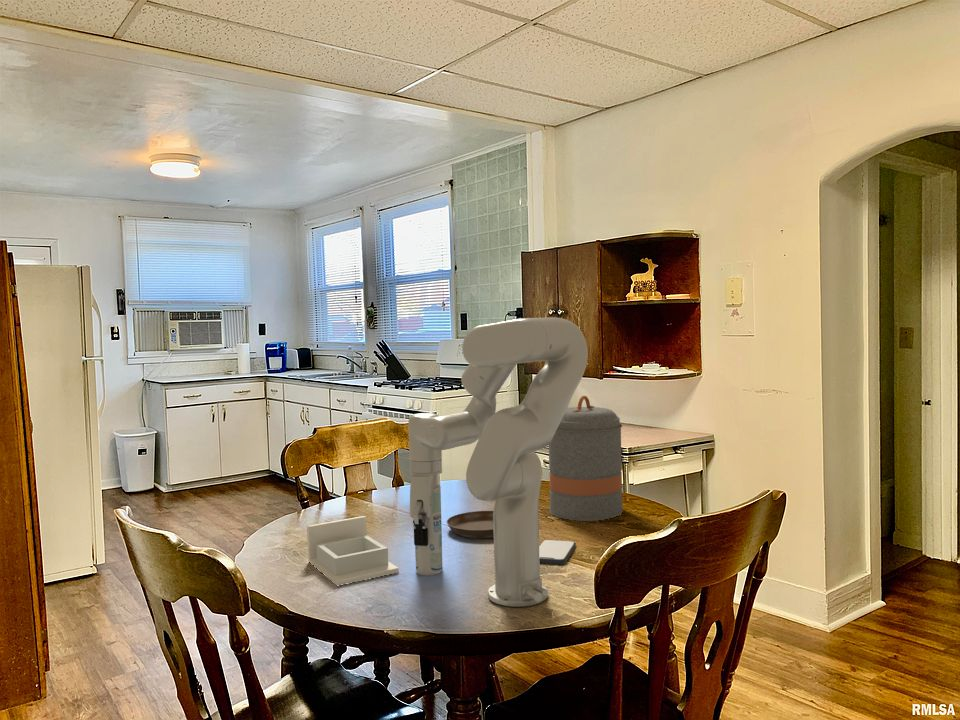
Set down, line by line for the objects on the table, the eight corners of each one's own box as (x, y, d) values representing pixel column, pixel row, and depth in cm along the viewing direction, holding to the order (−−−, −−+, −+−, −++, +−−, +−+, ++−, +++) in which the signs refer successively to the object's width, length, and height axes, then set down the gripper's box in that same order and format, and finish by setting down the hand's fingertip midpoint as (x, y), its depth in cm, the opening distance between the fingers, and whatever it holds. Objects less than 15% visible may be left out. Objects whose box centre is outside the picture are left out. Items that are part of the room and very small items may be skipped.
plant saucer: (437, 526, 209) (437, 514, 209) (503, 517, 217) (503, 506, 216) (461, 546, 190) (460, 533, 190) (533, 535, 197) (532, 523, 197)
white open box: (398, 572, 170) (397, 534, 169) (337, 586, 162) (335, 546, 162) (365, 551, 187) (364, 515, 187) (308, 562, 179) (306, 525, 179)
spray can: (436, 576, 167) (434, 490, 166) (410, 574, 169) (408, 489, 168) (447, 567, 173) (444, 484, 172) (422, 565, 175) (419, 482, 174)
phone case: (543, 545, 190) (528, 564, 175) (543, 539, 190) (528, 557, 175) (577, 547, 187) (564, 566, 172) (577, 541, 187) (564, 560, 172)
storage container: (607, 525, 204) (604, 401, 202) (536, 515, 216) (533, 398, 214) (634, 506, 223) (632, 393, 221) (567, 499, 235) (565, 391, 233)
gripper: (422, 458, 179) (423, 527, 180) (397, 474, 162) (399, 549, 163) (451, 459, 177) (453, 529, 178) (430, 475, 160) (432, 551, 161)
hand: (427, 538), depth 171 cm, fingers open, 9 cm apart
